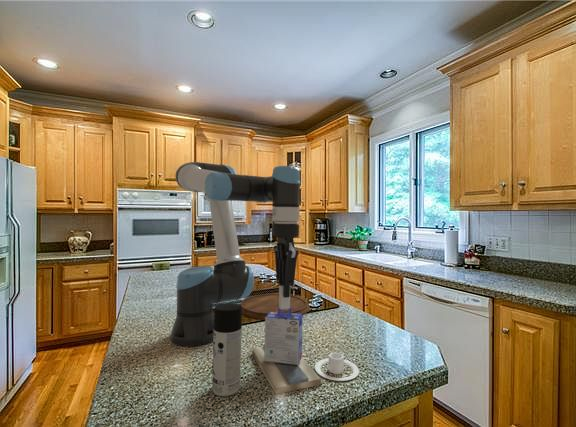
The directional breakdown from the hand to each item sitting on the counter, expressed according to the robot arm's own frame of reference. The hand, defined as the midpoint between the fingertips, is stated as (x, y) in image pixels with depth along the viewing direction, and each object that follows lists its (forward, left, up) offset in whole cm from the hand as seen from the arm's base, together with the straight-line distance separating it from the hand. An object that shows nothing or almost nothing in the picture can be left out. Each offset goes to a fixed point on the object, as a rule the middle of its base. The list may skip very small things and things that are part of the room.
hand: (284, 308), depth 84 cm
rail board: (0, 0, -17) cm, 17 cm away
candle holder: (+13, -6, -17) cm, 23 cm away
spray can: (-17, -5, -17) cm, 24 cm away
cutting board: (+14, +51, -17) cm, 56 cm away
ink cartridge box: (0, 0, -15) cm, 15 cm away
